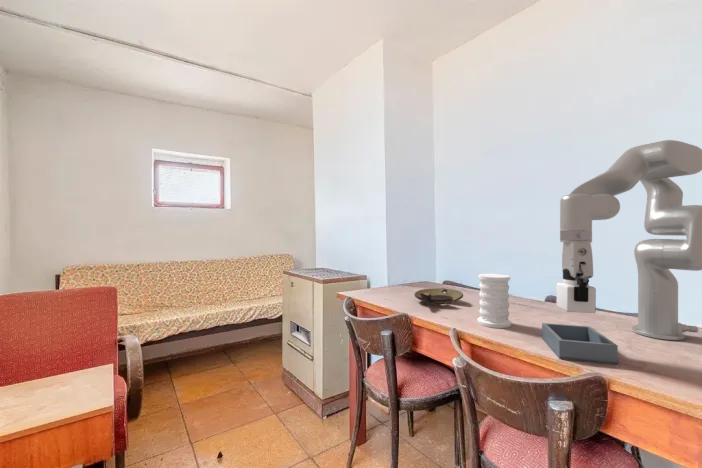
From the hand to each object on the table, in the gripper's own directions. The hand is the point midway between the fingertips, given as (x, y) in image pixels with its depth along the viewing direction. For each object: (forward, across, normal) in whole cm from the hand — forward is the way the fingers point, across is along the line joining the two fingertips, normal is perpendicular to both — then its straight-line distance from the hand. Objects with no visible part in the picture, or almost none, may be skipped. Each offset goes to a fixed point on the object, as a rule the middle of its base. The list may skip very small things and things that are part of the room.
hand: (575, 298), depth 91 cm
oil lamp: (+15, +50, +42) cm, 67 cm away
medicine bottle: (+4, 0, 0) cm, 4 cm away
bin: (+15, 0, 0) cm, 15 cm away
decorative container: (+15, +22, +19) cm, 33 cm away
